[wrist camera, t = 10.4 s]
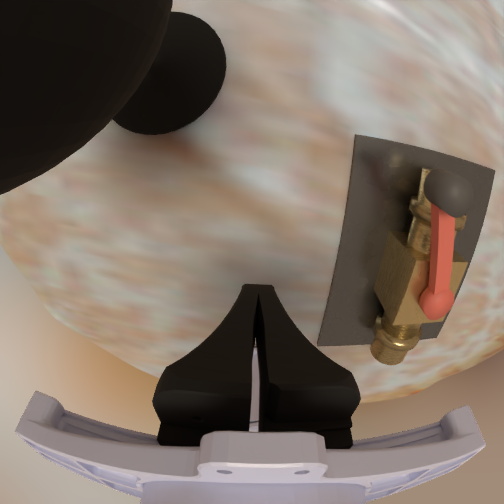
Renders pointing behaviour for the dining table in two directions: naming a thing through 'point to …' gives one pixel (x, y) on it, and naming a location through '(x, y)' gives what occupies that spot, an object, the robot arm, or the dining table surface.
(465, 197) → the lever
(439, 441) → the robot arm
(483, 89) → the dining table surface
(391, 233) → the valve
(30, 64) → the wine glass
